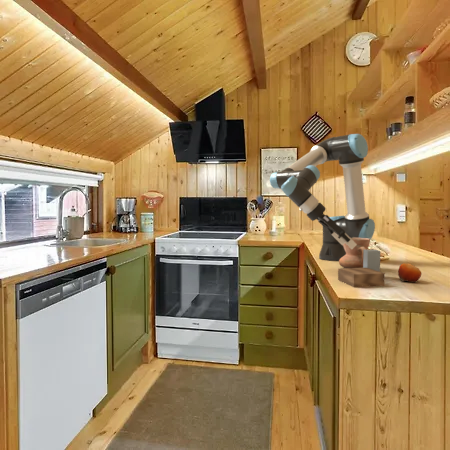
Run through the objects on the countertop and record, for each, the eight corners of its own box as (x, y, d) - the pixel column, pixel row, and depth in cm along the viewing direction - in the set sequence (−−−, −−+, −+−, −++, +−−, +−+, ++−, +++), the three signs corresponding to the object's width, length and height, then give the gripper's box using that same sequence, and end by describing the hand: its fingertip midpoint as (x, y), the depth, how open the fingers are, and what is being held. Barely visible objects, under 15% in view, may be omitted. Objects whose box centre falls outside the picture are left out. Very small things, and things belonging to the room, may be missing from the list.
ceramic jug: (333, 266, 174) (334, 236, 173) (363, 265, 174) (364, 236, 173) (347, 273, 156) (347, 240, 155) (380, 273, 156) (381, 240, 155)
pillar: (363, 275, 150) (363, 249, 150) (375, 275, 150) (375, 249, 150) (367, 278, 145) (367, 251, 145) (379, 278, 145) (380, 251, 145)
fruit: (389, 275, 144) (401, 258, 143) (407, 285, 143) (418, 268, 142) (397, 279, 136) (409, 261, 135) (415, 290, 135) (427, 272, 134)
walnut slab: (366, 279, 144) (366, 267, 143) (384, 286, 132) (384, 273, 131) (338, 281, 142) (338, 268, 141) (353, 288, 130) (354, 274, 130)
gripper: (301, 213, 160) (334, 247, 160) (311, 215, 135) (351, 255, 135) (313, 201, 159) (347, 235, 159) (326, 201, 134) (366, 241, 134)
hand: (349, 245), depth 147 cm, fingers open, 13 cm apart
